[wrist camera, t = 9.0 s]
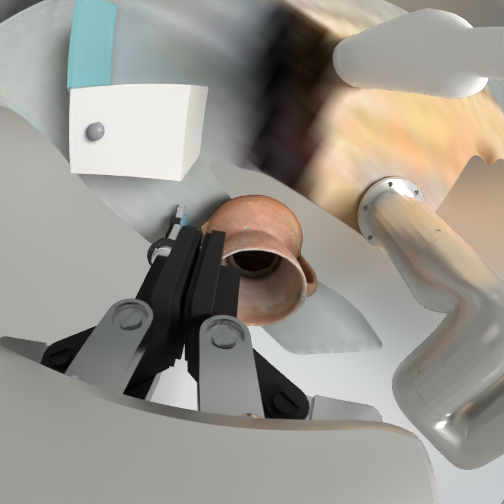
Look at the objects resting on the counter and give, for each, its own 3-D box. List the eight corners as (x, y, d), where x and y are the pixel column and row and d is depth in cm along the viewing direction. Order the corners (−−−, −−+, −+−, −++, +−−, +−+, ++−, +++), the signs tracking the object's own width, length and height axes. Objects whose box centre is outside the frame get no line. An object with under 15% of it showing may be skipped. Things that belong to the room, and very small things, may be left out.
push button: (166, 201, 40) (144, 233, 31) (199, 206, 40) (186, 240, 32) (164, 238, 43) (145, 276, 35) (195, 243, 44) (183, 283, 36)
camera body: (208, 86, 31) (189, 84, 21) (199, 156, 36) (178, 183, 26) (104, 86, 29) (56, 91, 19) (102, 149, 35) (57, 175, 25)
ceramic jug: (186, 246, 44) (167, 309, 33) (221, 168, 37) (208, 213, 25) (282, 282, 49) (292, 347, 37) (327, 218, 42) (356, 276, 30)
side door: (109, 7, 21) (74, -6, 13) (117, 5, 21) (83, -10, 13) (102, 89, 29) (63, 95, 21) (110, 88, 29) (72, 92, 21)
